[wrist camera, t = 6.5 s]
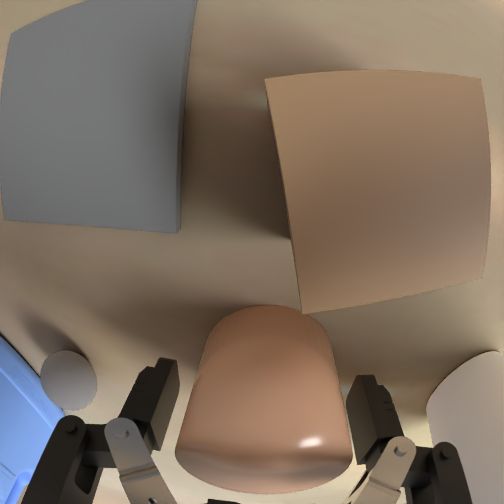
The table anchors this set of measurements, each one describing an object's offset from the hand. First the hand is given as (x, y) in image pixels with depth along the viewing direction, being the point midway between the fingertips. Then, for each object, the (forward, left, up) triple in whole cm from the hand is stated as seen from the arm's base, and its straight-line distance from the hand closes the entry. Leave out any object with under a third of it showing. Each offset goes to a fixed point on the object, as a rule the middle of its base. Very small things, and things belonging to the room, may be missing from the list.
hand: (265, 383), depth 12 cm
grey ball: (+3, -11, -2) cm, 11 cm away
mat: (-11, -9, -2) cm, 14 cm away
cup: (+3, +14, -2) cm, 14 cm away
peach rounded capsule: (0, 0, -2) cm, 2 cm away
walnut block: (-9, +2, -2) cm, 10 cm away
